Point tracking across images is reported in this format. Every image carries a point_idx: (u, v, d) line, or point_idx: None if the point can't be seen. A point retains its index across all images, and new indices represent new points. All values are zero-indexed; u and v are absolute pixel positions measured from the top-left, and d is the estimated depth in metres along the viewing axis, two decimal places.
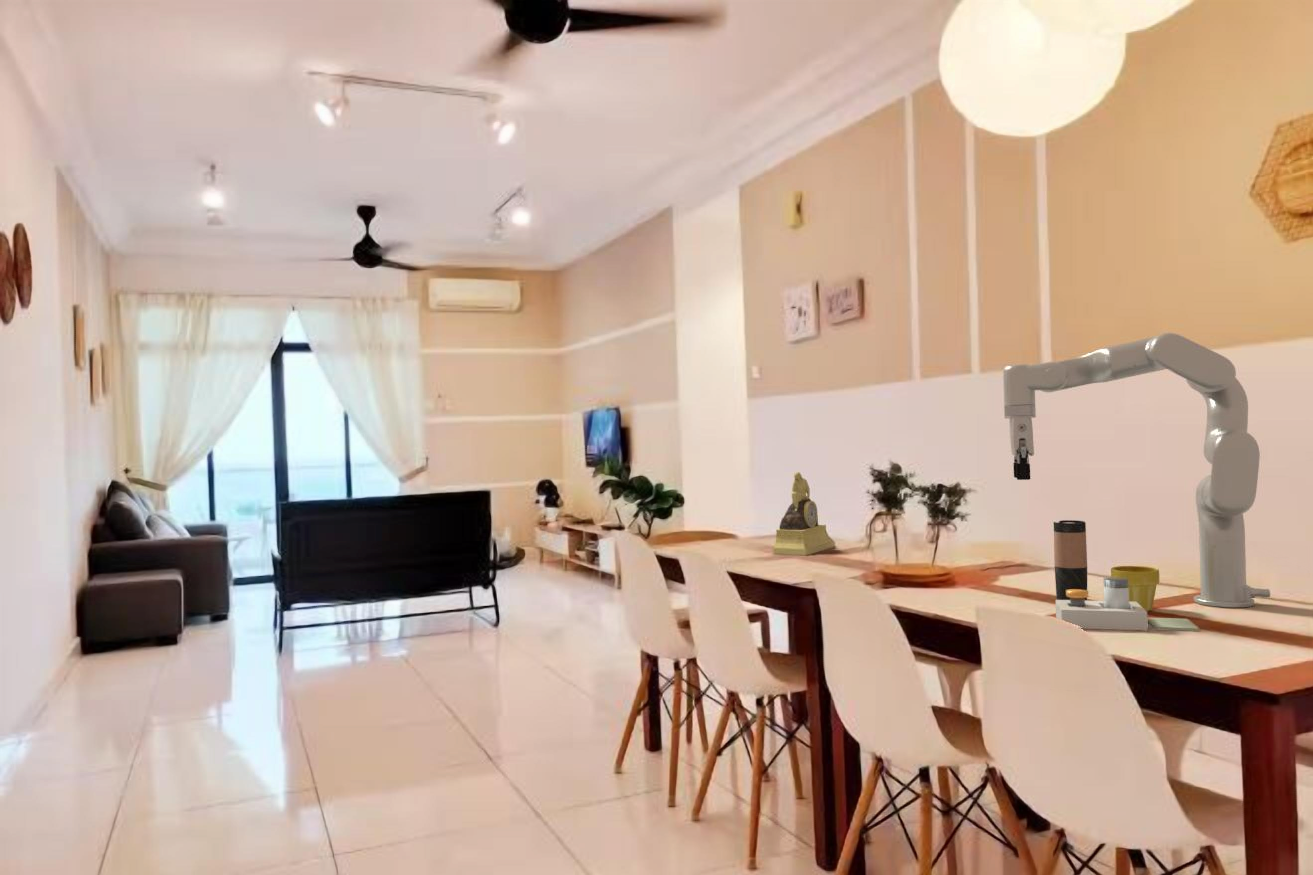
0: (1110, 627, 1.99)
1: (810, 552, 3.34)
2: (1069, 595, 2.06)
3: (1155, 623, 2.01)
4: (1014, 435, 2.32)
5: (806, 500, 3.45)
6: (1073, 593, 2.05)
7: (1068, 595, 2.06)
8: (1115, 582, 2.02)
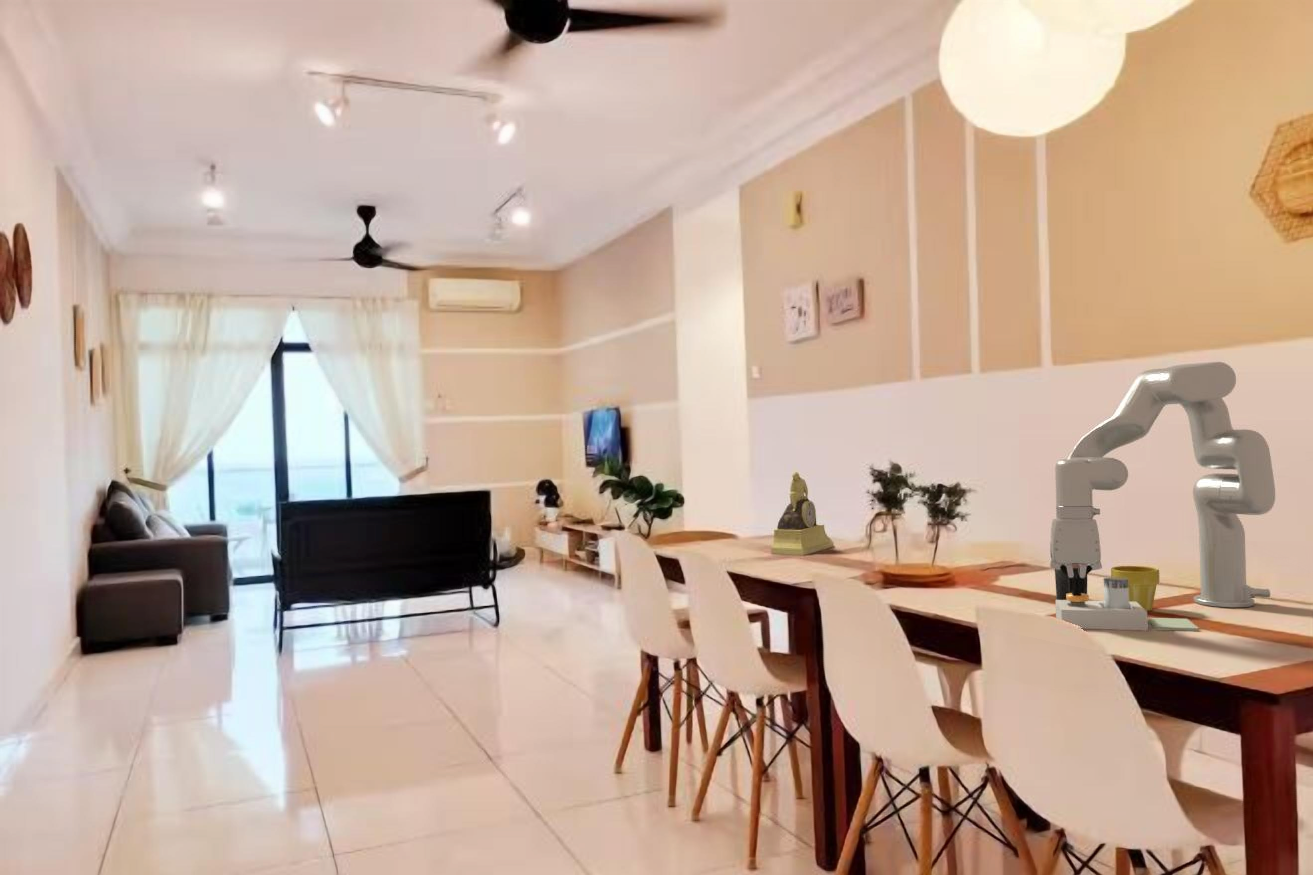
0: (1110, 627, 1.99)
1: (808, 552, 3.35)
2: (1069, 599, 2.06)
3: (1155, 623, 2.01)
4: (1099, 540, 2.03)
5: (804, 500, 3.45)
6: (1073, 597, 2.05)
7: (1068, 599, 2.06)
8: (1115, 582, 2.02)
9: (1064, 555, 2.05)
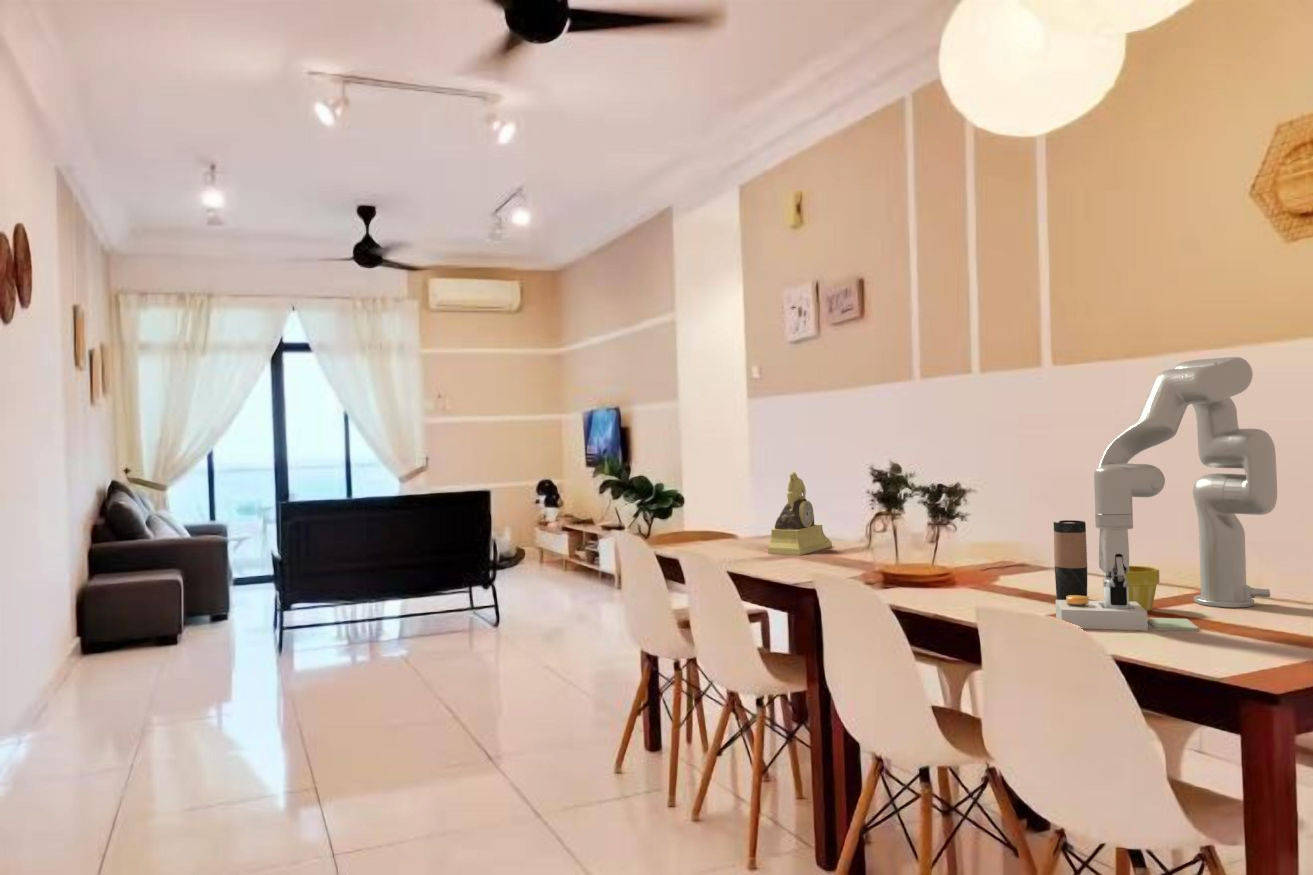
0: (1110, 627, 1.99)
1: (804, 552, 3.35)
2: (1069, 601, 2.06)
3: (1155, 623, 2.01)
4: None
5: (802, 500, 3.46)
6: (1073, 599, 2.05)
7: (1068, 601, 2.06)
8: None
9: None
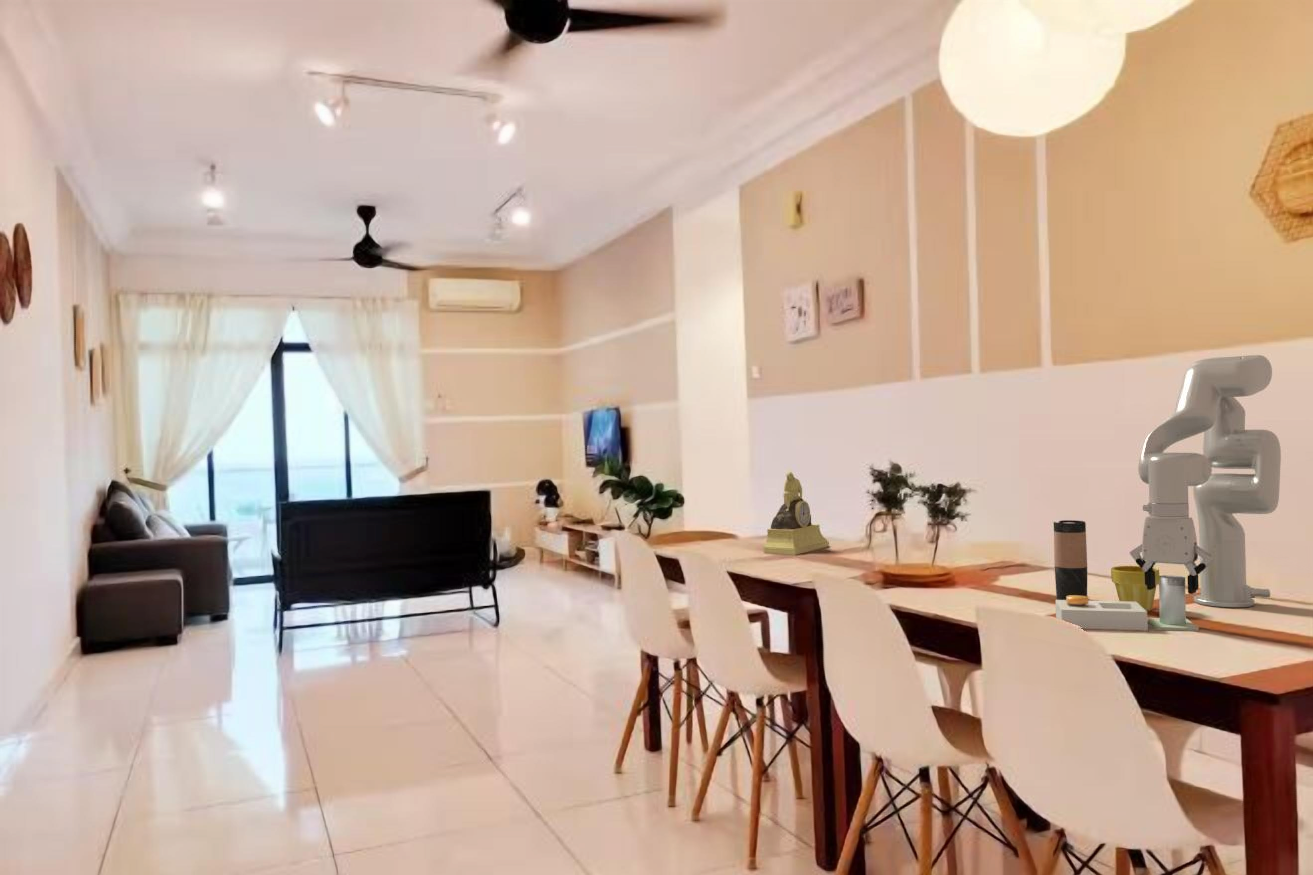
0: (1110, 627, 1.99)
1: (800, 552, 3.36)
2: (1069, 601, 2.06)
3: (1155, 623, 2.01)
4: None
5: (798, 500, 3.47)
6: (1073, 599, 2.05)
7: (1068, 601, 2.06)
8: (1183, 579, 1.99)
9: None
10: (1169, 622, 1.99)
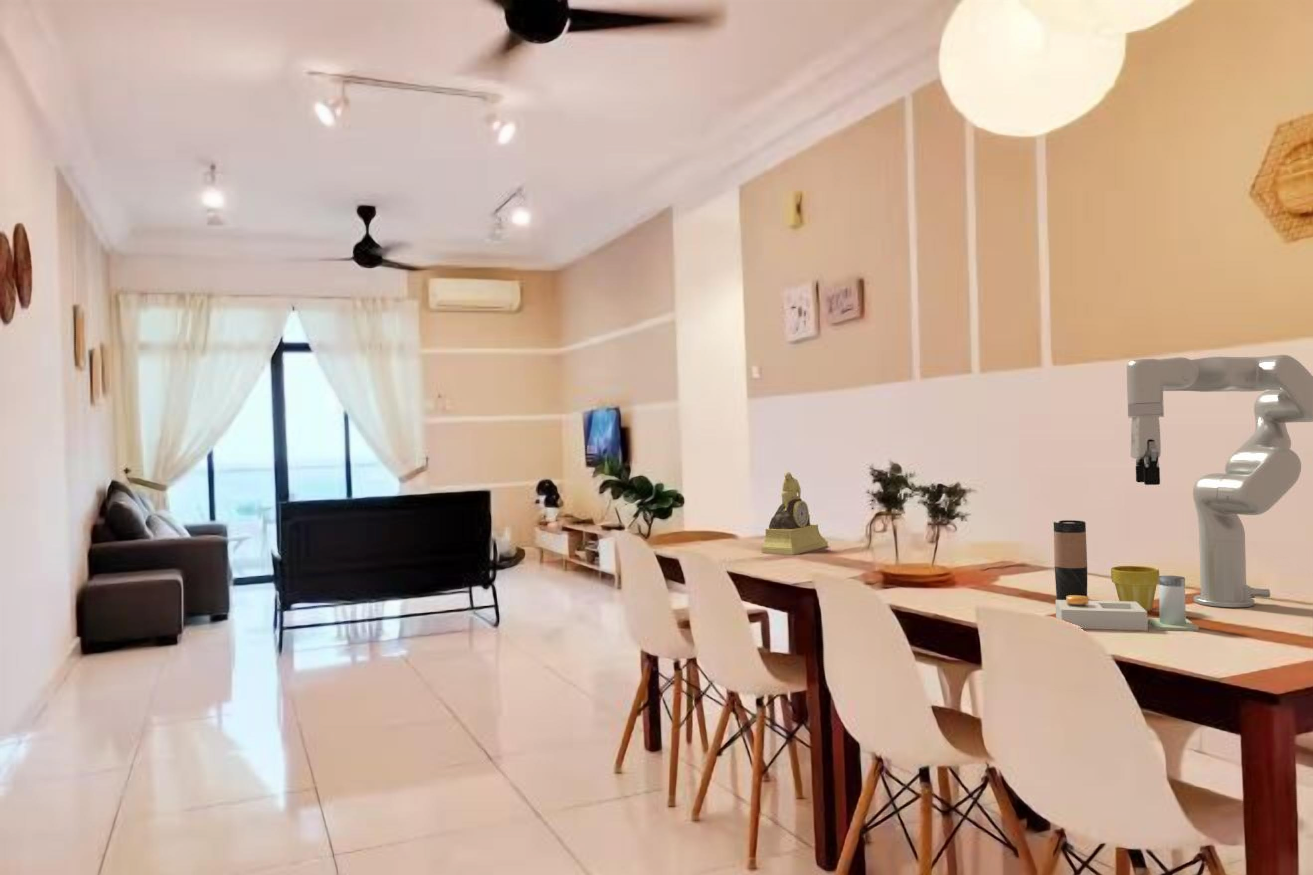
0: (1110, 627, 1.99)
1: (798, 551, 3.37)
2: (1069, 601, 2.06)
3: (1155, 623, 2.01)
4: None
5: (796, 500, 3.47)
6: (1073, 599, 2.05)
7: (1068, 601, 2.06)
8: (1183, 580, 1.98)
9: None
10: (1169, 622, 1.99)
